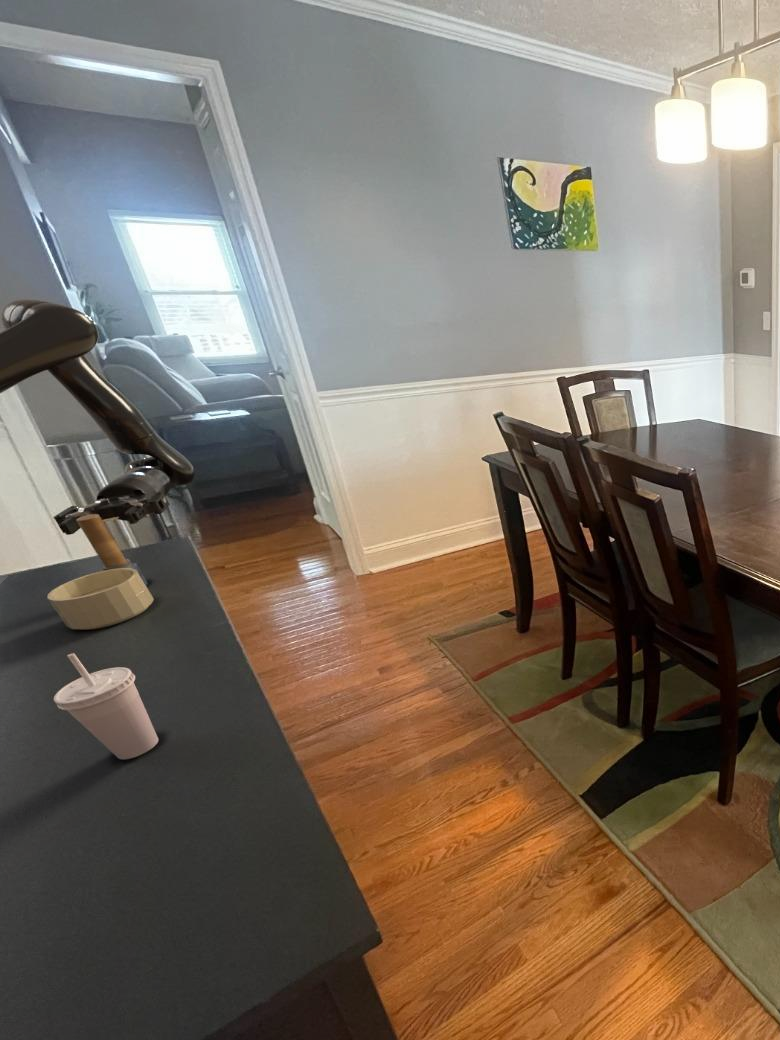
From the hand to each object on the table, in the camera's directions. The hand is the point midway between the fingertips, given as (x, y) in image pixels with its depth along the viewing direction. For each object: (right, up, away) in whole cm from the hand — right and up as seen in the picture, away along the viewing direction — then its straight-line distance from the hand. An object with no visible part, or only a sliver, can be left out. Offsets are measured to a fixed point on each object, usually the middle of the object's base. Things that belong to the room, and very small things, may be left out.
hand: (98, 524), depth 104 cm
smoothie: (+41, -29, -33) cm, 60 cm away
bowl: (+7, -15, -4) cm, 17 cm away
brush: (+1, -11, +4) cm, 12 cm away
